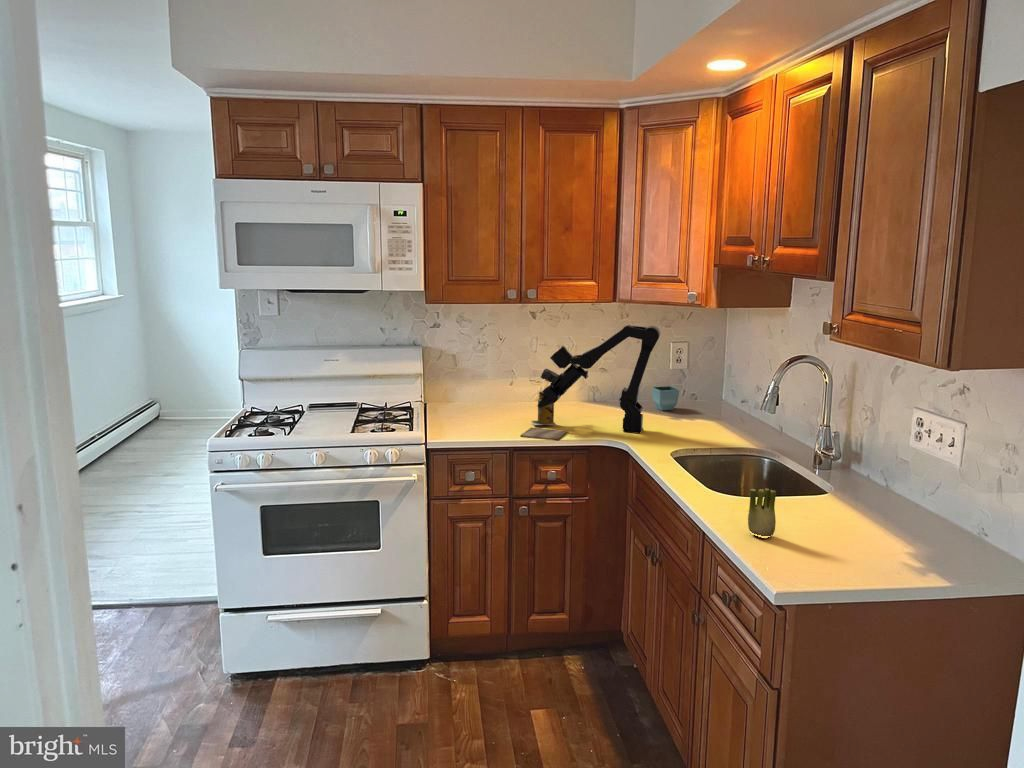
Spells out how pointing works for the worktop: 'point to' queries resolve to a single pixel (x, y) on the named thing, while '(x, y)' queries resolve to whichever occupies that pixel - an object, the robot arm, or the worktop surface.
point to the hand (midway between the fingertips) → (540, 405)
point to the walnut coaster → (544, 433)
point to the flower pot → (665, 397)
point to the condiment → (545, 413)
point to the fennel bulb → (762, 512)
